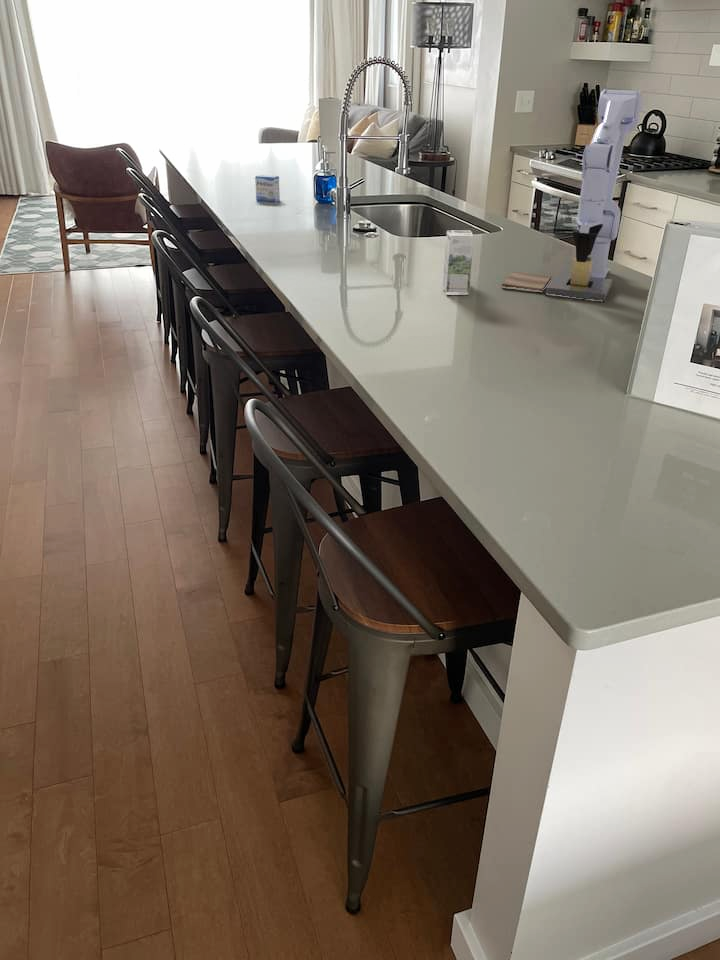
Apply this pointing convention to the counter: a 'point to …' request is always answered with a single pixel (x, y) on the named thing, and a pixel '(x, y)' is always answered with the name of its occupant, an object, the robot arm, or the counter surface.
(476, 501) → the counter surface
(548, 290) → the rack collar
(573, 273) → the brass peg
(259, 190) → the medicine box
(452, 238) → the syrup box
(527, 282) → the walnut board
